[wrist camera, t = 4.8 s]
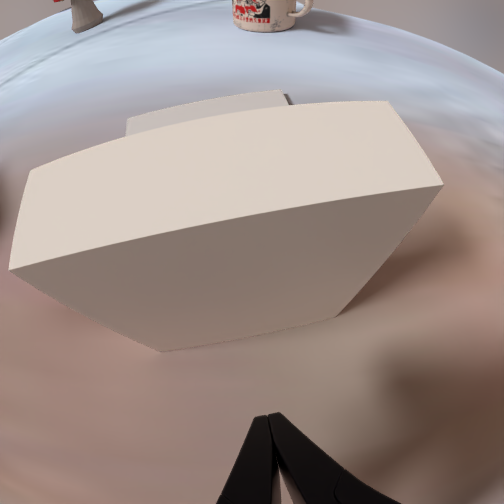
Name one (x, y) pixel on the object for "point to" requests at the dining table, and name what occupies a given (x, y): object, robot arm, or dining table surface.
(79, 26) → the decorative mushroom
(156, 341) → the beige rectangular block
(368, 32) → the dining table surface
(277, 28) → the teacup with lid
